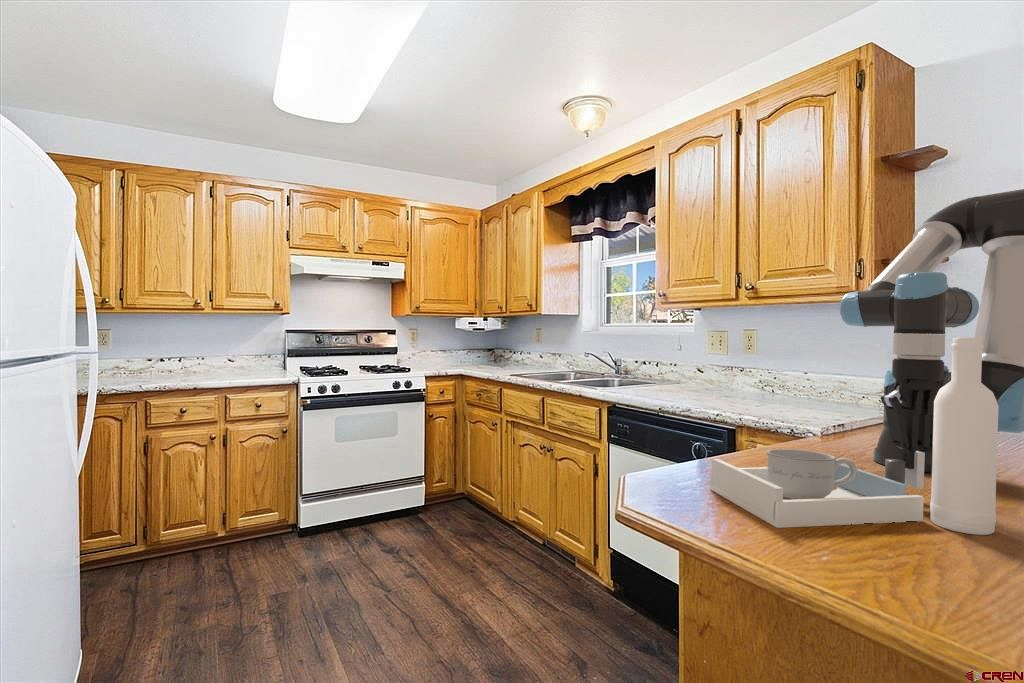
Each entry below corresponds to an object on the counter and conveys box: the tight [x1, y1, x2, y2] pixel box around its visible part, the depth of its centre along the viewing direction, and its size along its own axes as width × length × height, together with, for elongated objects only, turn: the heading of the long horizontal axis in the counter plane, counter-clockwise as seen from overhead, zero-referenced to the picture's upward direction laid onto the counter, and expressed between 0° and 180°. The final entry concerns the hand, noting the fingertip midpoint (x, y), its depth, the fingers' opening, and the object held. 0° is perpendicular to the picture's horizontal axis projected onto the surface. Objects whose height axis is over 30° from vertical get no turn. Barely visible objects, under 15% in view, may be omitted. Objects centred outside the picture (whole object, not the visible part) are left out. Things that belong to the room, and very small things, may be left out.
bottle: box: [929, 336, 999, 536], centre depth 84 cm, size 8×8×30 cm
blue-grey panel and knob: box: [834, 459, 907, 497], centre depth 96 cm, size 8×15×6 cm, turn 9°
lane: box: [709, 458, 925, 529], centre depth 95 cm, size 33×20×6 cm, turn 99°
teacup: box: [766, 448, 858, 500], centre depth 94 cm, size 14×11×8 cm
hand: (913, 486), depth 97 cm, fingers closed
